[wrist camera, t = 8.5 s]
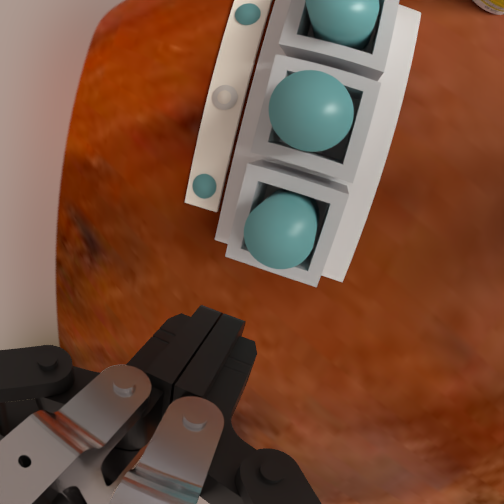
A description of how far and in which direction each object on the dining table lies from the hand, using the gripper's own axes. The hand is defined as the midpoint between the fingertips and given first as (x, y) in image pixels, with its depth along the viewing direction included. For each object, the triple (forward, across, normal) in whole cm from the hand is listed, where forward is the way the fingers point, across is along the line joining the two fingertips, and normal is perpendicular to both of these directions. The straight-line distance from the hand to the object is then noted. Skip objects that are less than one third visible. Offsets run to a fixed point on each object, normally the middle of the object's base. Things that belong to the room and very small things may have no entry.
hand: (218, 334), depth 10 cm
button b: (+15, 0, -8) cm, 17 cm away
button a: (+17, 0, -16) cm, 23 cm away
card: (+18, +8, -8) cm, 22 cm away
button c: (+17, 0, 0) cm, 17 cm away
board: (+18, 0, -8) cm, 20 cm away
